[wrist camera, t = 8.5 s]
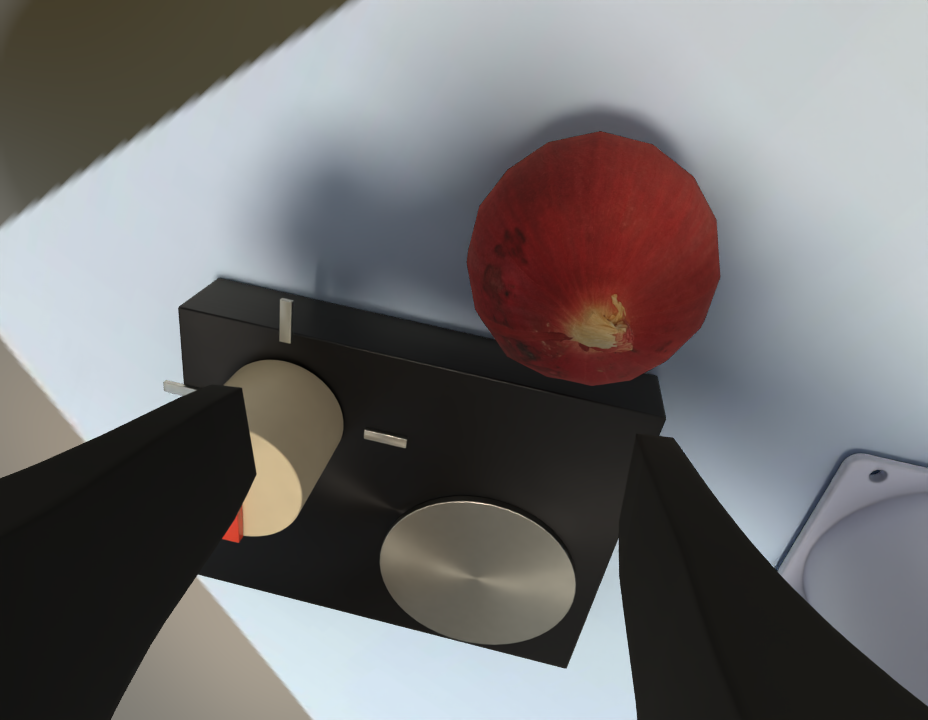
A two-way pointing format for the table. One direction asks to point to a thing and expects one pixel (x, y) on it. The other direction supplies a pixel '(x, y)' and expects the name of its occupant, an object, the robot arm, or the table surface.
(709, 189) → the table surface
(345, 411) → the hob
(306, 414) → the knob
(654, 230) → the onion
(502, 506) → the burner
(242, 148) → the table surface
